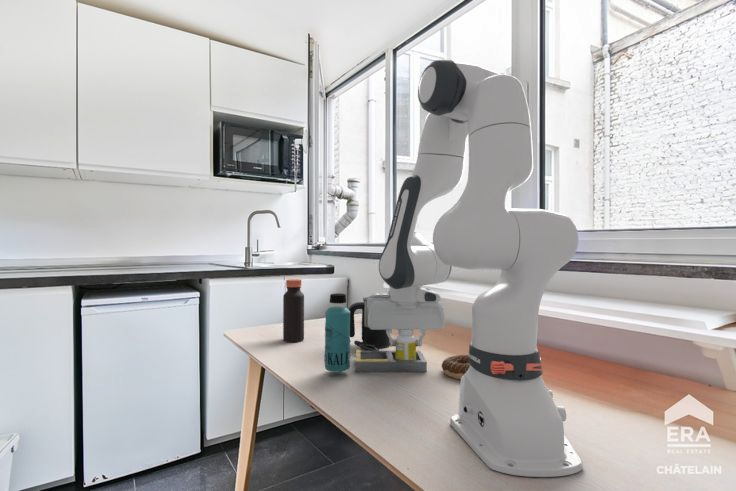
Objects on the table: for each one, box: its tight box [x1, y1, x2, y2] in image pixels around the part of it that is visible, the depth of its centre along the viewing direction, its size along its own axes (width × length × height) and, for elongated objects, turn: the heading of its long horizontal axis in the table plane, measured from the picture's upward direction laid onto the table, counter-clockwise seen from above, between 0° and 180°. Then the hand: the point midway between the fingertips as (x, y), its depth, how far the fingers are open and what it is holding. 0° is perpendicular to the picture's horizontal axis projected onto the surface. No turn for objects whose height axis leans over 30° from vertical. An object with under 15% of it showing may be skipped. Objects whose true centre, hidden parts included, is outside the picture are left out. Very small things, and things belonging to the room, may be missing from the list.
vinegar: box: [282, 278, 305, 343], centre depth 125 cm, size 7×7×20 cm
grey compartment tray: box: [355, 349, 428, 373], centre depth 101 cm, size 10×18×3 cm, turn 91°
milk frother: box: [347, 296, 391, 351], centre depth 117 cm, size 14×16×15 cm
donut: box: [441, 354, 470, 381], centre depth 94 cm, size 11×11×4 cm
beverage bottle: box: [323, 292, 351, 373], centre depth 94 cm, size 6×7×20 cm
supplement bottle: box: [395, 330, 417, 360], centre depth 100 cm, size 5×5×10 cm
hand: (405, 345), depth 100 cm, fingers closed on supplement bottle, 5 cm apart
